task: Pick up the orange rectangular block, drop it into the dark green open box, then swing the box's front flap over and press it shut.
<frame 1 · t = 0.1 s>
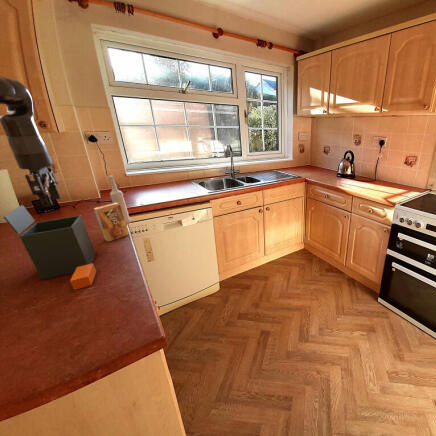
hand: (52, 202, 80), 25 cm above the countertop, tool pointing down, fingers open, 8 cm apart
candy box: (117, 237, 112), on the countertop
bottle: (125, 223, 128), on the countertop
dark green open box: (71, 265, 91), on the countertop
chute flap: (20, 219, 80), point 20 cm above the countertop, hinge at 100.0°
orange rectangular block: (85, 280, 82), on the countertop
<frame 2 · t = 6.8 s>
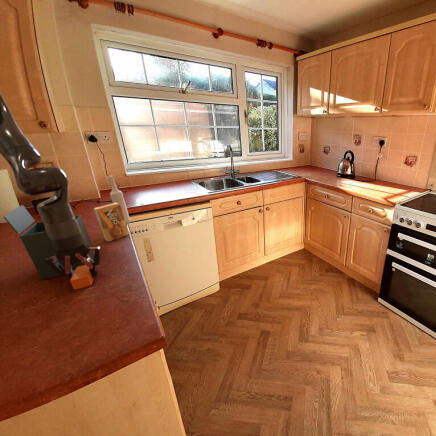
hand: (85, 278, 81), 1 cm above the countertop, tool pointing down, fingers closed on orange rectangular block, 4 cm apart
orange rectangular block: (85, 280, 82), on the countertop, touching gripper
everything else where it was.
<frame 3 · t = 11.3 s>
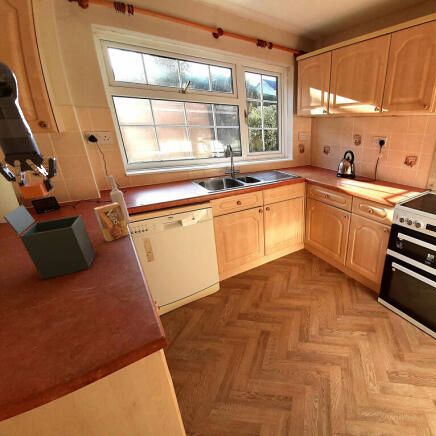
hand: (39, 192, 77), 29 cm above the countertop, tool pointing down, fingers closed on orange rectangular block, 4 cm apart
orange rectangular block: (40, 194, 78), point 28 cm above the countertop, touching gripper
everything else where it was.
when the fingers open (14 cm above the countertop, at t = 15.7 s): orange rectangular block drops 13 cm, resting on dark green open box.
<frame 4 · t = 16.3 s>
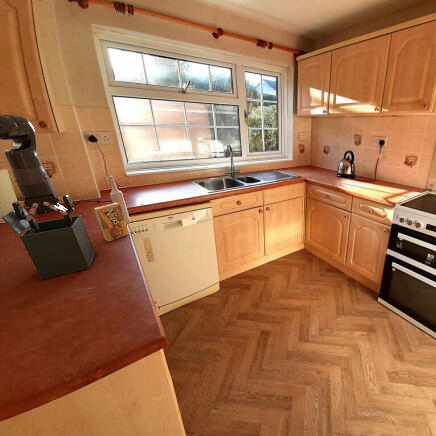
hand: (53, 226, 85), 16 cm above the countertop, tool pointing down, fingers open, 8 cm apart
chute flap: (19, 219, 80), point 20 cm above the countertop, hinge at 104.3°
orange rectangular block: (70, 263, 91), resting on dark green open box
everything else where it was.
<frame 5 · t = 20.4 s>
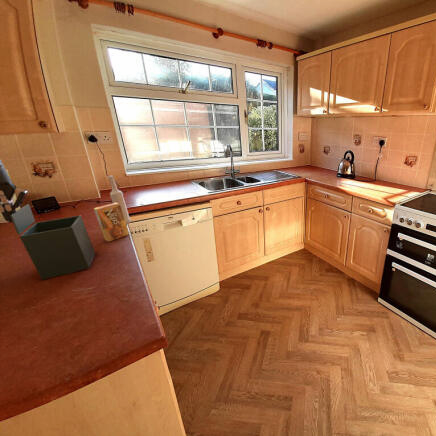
hand: (13, 221, 79), 20 cm above the countertop, tool pointing down, fingers closed
chute flap: (23, 218, 80), point 20 cm above the countertop, hinge at 85.7°, touching gripper
everything else where it was.
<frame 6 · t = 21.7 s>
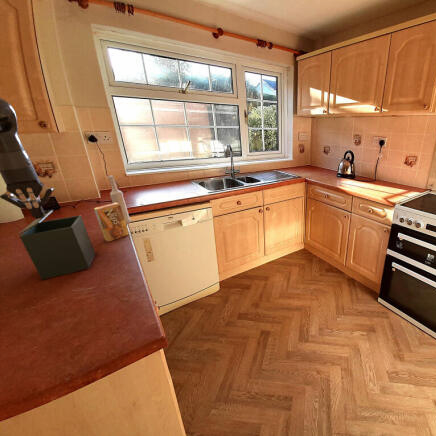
hand: (40, 217, 82), 20 cm above the countertop, tool pointing down, fingers closed
chute flap: (36, 221, 82), point 19 cm above the countertop, hinge at 25.8°
everything else where it was.
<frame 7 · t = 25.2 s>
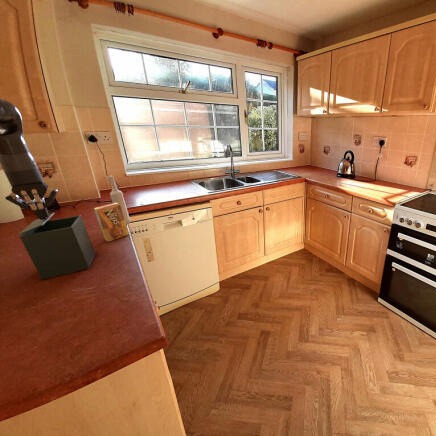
hand: (44, 218, 83), 19 cm above the countertop, tool pointing down, fingers closed
chute flap: (38, 222, 82), point 18 cm above the countertop, hinge at 16.6°
everything else where it was.
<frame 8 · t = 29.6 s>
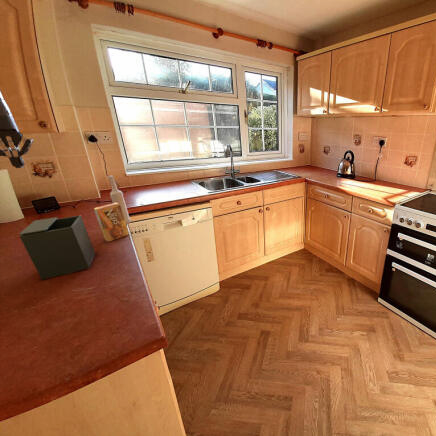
hand: (19, 167, 87), 35 cm above the countertop, tool pointing down, fingers closed
chute flap: (39, 225, 83), point 17 cm above the countertop, hinge at -0.6°
everything else where it was.
at the end: orange rectangular block inside the target area in the dark green open box (0.0 cm from its centre), point 0.5 cm above the dark green open box's base; chute flap at -1° (first picture: +100°) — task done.
